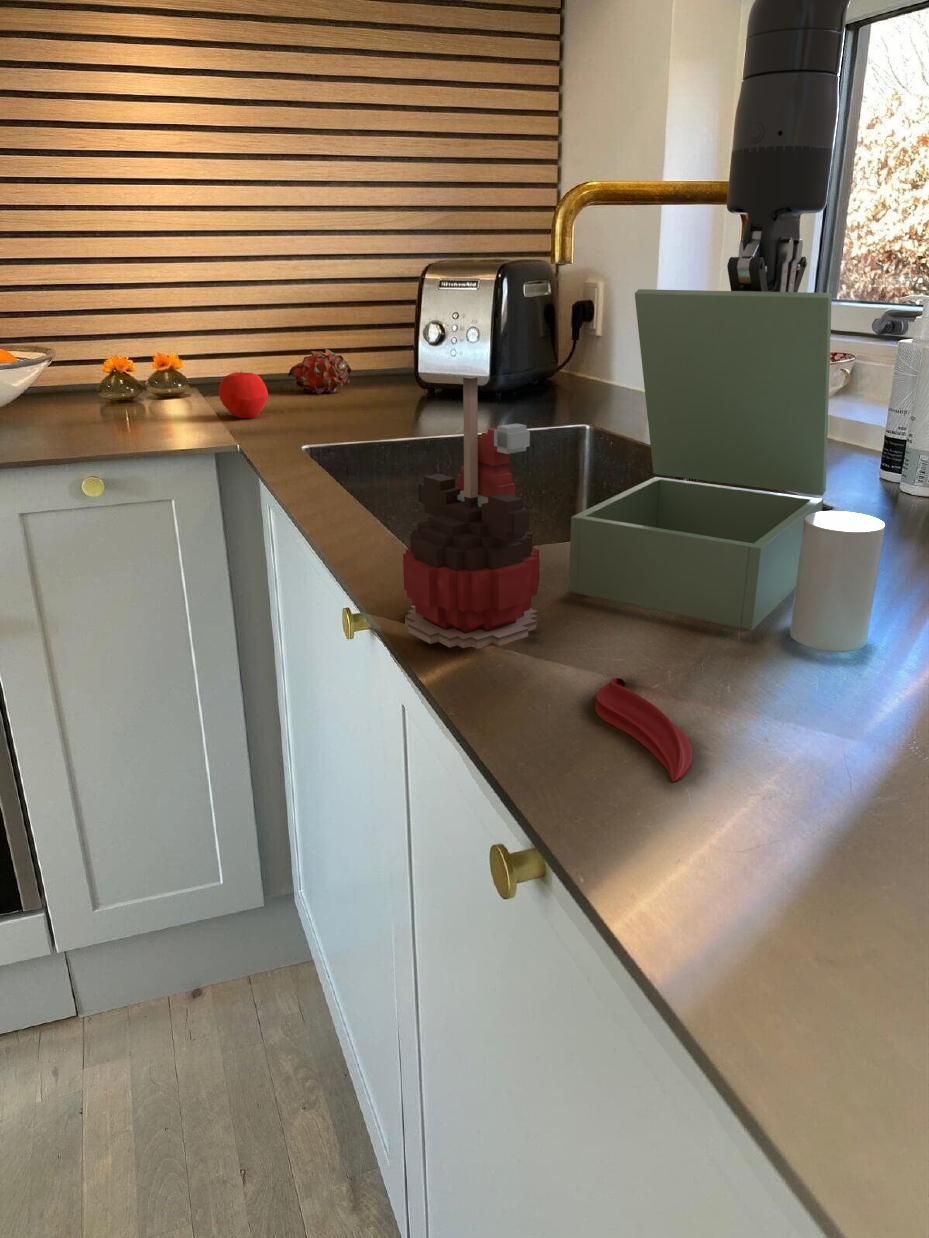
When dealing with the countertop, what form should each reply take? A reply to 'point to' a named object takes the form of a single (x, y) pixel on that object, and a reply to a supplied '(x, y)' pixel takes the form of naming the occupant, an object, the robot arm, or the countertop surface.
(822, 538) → the white cylinder
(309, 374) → the dragon fruit
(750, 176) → the robot arm
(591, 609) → the countertop surface
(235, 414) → the apple
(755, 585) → the bin
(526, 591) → the cake
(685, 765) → the cayenne pepper
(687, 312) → the bin lid
